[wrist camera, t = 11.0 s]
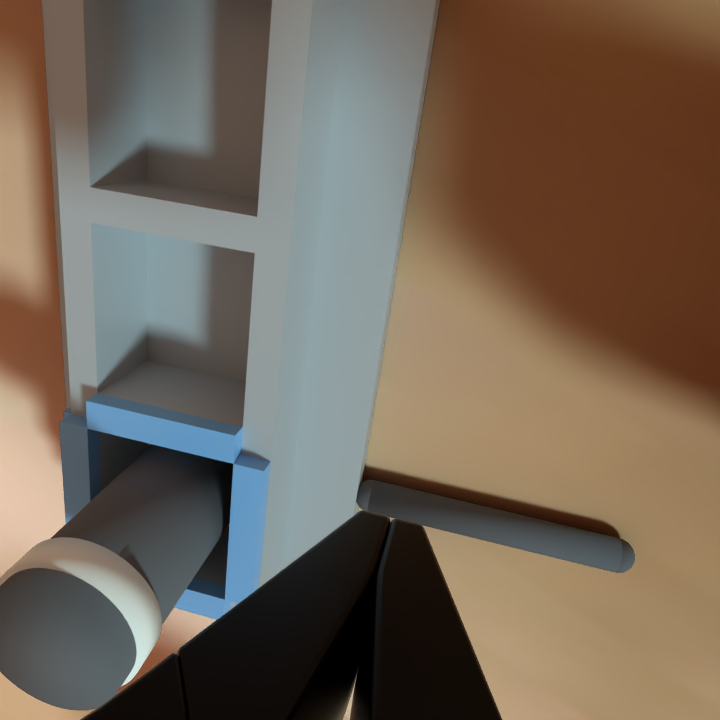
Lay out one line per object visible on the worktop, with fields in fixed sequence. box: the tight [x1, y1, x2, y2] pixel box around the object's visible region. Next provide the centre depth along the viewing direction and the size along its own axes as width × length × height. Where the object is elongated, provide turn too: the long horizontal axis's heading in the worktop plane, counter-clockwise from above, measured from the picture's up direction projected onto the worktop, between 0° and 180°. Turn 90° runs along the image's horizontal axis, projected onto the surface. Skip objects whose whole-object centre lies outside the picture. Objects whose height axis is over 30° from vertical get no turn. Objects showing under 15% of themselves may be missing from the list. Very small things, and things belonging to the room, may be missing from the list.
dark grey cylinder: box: [0, 444, 233, 710], centre depth 19 cm, size 4×4×9 cm
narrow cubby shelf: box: [42, 0, 440, 619], centre depth 19 cm, size 12×23×5 cm, turn 172°
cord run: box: [356, 480, 635, 573], centre depth 22 cm, size 10×1×1 cm, turn 82°
